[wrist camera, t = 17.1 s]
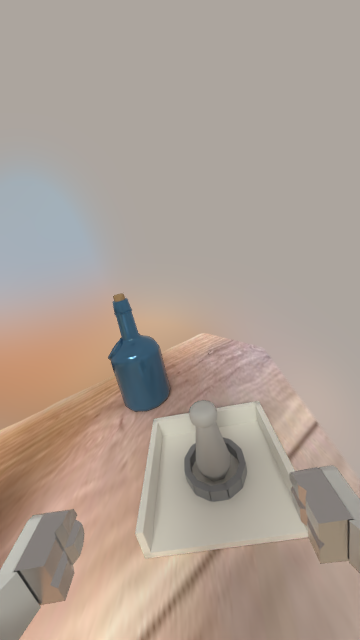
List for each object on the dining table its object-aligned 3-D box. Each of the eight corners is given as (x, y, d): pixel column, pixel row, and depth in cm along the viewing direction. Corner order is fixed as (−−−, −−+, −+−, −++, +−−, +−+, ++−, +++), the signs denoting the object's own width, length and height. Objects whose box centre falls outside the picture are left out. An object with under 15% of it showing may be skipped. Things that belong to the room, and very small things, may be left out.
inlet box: (315, 536, 28) (314, 508, 27) (145, 558, 30) (135, 533, 28) (261, 420, 47) (258, 400, 46) (159, 437, 49) (153, 418, 47)
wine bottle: (170, 379, 70) (146, 285, 61) (172, 407, 57) (142, 293, 49) (127, 389, 70) (97, 296, 61) (119, 419, 57) (80, 306, 48)
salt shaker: (220, 449, 42) (208, 389, 38) (240, 474, 36) (228, 408, 33) (192, 465, 40) (177, 404, 36) (209, 494, 34) (193, 426, 31)
